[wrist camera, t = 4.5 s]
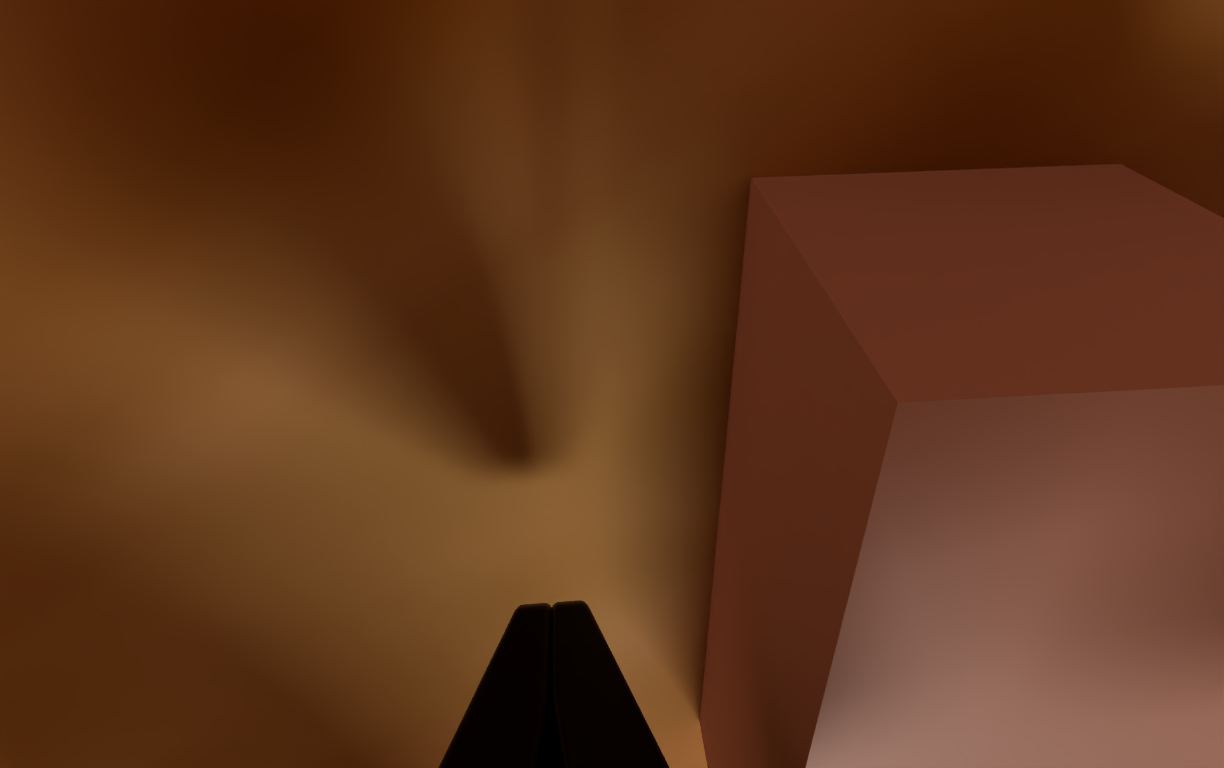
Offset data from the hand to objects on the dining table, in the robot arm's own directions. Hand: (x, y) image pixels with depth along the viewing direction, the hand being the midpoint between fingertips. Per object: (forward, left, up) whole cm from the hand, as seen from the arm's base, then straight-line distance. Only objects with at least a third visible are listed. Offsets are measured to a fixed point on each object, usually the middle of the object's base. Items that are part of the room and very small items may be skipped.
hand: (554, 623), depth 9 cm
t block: (+8, 0, -2) cm, 8 cm away
